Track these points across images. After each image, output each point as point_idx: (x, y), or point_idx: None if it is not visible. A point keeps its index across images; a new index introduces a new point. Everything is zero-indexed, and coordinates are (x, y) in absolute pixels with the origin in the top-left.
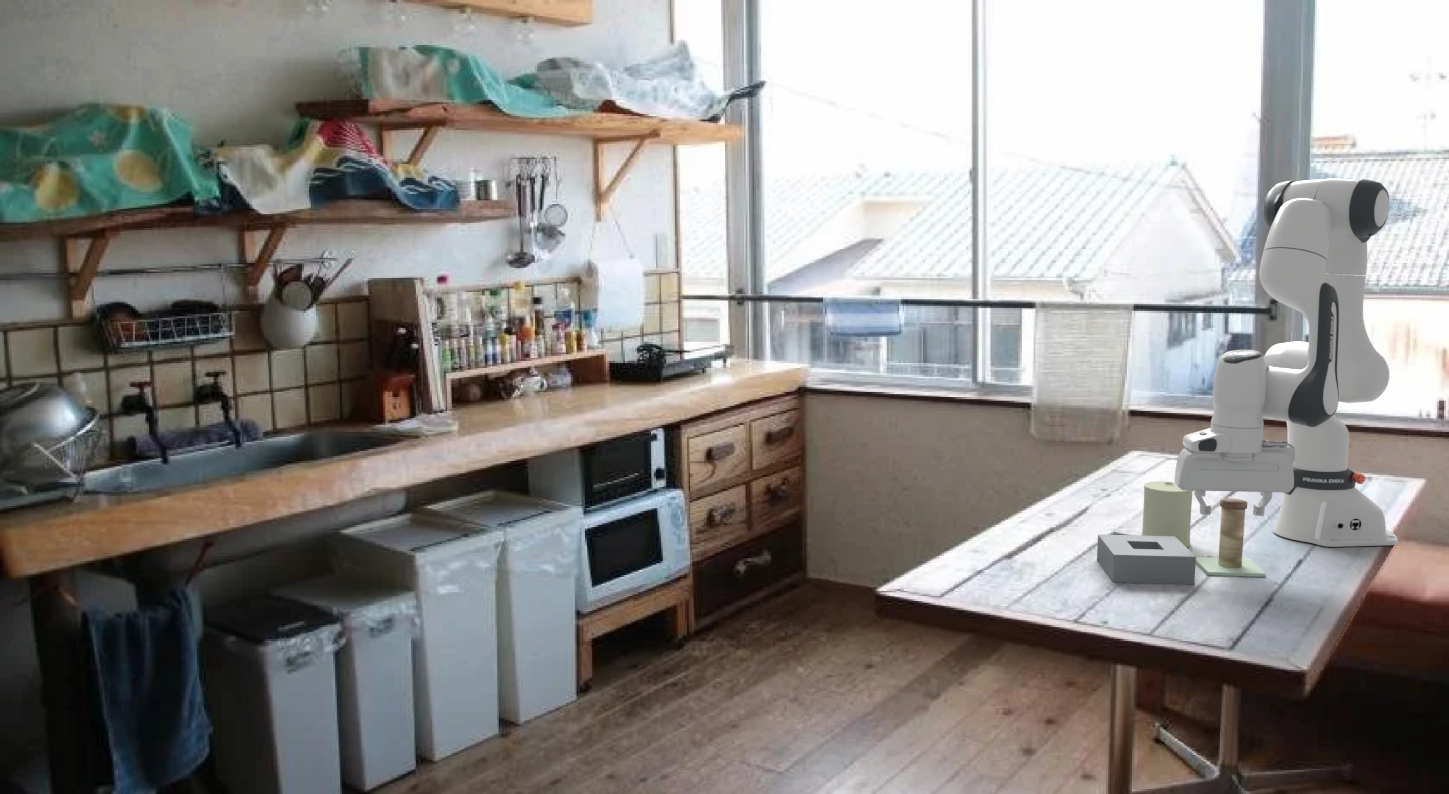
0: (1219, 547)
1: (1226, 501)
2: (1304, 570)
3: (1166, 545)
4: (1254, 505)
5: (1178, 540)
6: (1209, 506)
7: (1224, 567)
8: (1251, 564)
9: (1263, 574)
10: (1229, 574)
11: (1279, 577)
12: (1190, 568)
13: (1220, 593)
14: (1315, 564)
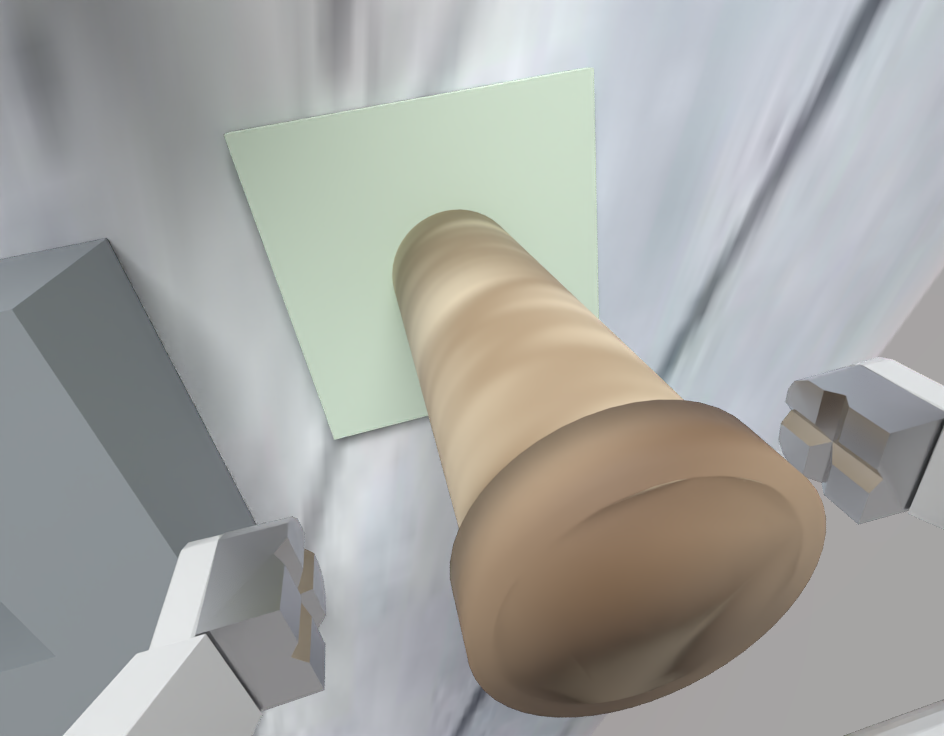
0: (405, 327)
1: (547, 649)
2: (813, 185)
3: (36, 579)
4: (877, 466)
5: (85, 432)
6: (305, 687)
7: None
8: (577, 222)
9: None
10: None
11: (650, 347)
12: None
13: (378, 613)
14: (936, 27)
